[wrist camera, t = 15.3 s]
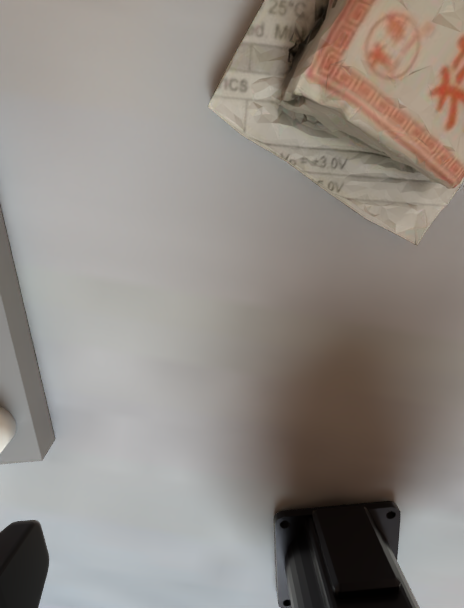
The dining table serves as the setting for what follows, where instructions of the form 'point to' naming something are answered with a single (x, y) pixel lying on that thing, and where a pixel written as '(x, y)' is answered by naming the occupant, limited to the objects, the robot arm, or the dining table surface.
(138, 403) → the dining table surface
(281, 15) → the packaged product
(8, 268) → the breaker panel
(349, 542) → the robot arm
